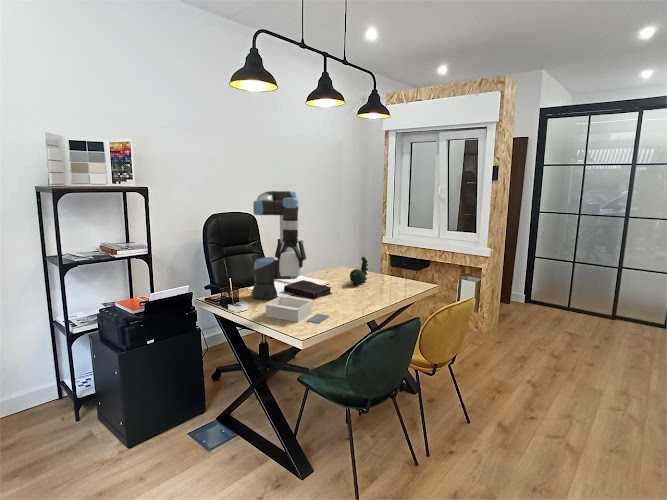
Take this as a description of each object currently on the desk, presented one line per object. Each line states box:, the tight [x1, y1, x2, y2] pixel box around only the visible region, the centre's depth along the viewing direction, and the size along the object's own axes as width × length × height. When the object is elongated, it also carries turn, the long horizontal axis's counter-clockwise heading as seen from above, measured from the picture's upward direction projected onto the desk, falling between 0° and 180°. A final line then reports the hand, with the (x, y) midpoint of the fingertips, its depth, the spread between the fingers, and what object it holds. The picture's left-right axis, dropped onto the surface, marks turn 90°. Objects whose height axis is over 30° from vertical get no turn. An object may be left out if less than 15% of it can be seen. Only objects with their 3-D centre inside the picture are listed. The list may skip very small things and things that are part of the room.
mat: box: [306, 313, 330, 324], centre depth 201 cm, size 7×12×1 cm, turn 156°
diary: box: [283, 279, 333, 300], centre depth 247 cm, size 19×25×5 cm
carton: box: [262, 294, 314, 323], centre depth 205 cm, size 19×19×7 cm
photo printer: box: [280, 251, 301, 277], centre depth 200 cm, size 10×4×12 cm, turn 95°
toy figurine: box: [349, 256, 369, 287], centre depth 271 cm, size 9×19×25 cm
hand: (290, 272), depth 201 cm, fingers closed on photo printer, 10 cm apart
